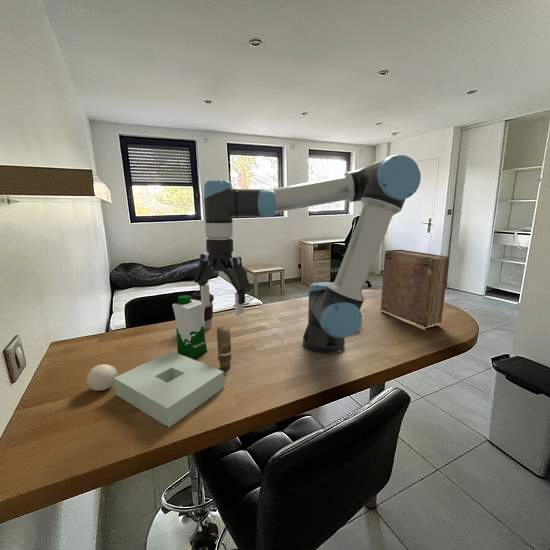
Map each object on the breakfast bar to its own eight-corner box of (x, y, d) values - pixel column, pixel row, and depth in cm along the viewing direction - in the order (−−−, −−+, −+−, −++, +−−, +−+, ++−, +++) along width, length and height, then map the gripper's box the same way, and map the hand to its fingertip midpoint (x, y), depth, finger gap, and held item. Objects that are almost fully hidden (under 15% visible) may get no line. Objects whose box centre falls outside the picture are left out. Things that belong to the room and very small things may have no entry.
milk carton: (193, 345, 105) (189, 292, 101) (211, 351, 101) (208, 296, 96) (173, 355, 98) (168, 298, 94) (192, 362, 93) (187, 303, 89)
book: (441, 327, 121) (450, 256, 114) (425, 331, 117) (433, 258, 111) (394, 309, 143) (400, 249, 137) (380, 311, 140) (385, 250, 133)
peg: (234, 366, 91) (233, 327, 88) (225, 372, 87) (223, 332, 84) (224, 363, 93) (223, 325, 90) (215, 368, 89) (213, 329, 87)
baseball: (122, 387, 80) (120, 365, 79) (92, 399, 75) (89, 375, 74) (114, 377, 85) (111, 356, 83) (85, 388, 80) (82, 366, 78)
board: (224, 387, 80) (223, 371, 79) (169, 427, 65) (167, 408, 64) (172, 365, 91) (171, 350, 90) (116, 394, 77) (113, 378, 76)
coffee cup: (218, 323, 126) (216, 290, 123) (210, 332, 116) (209, 296, 113) (196, 322, 127) (194, 289, 124) (187, 331, 117) (184, 296, 114)
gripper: (263, 239, 78) (263, 314, 82) (198, 235, 91) (202, 299, 96) (245, 242, 72) (246, 322, 76) (179, 236, 85) (183, 305, 89)
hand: (221, 309), depth 86 cm, fingers open, 13 cm apart
